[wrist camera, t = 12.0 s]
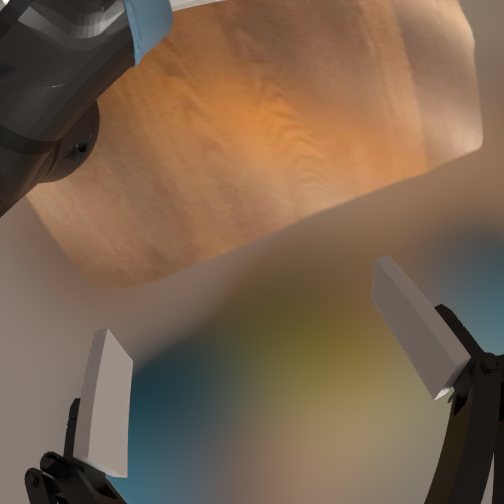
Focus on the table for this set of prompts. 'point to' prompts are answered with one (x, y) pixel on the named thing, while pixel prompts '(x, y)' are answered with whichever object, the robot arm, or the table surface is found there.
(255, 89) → the table surface
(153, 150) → the table surface
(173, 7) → the socket plate
